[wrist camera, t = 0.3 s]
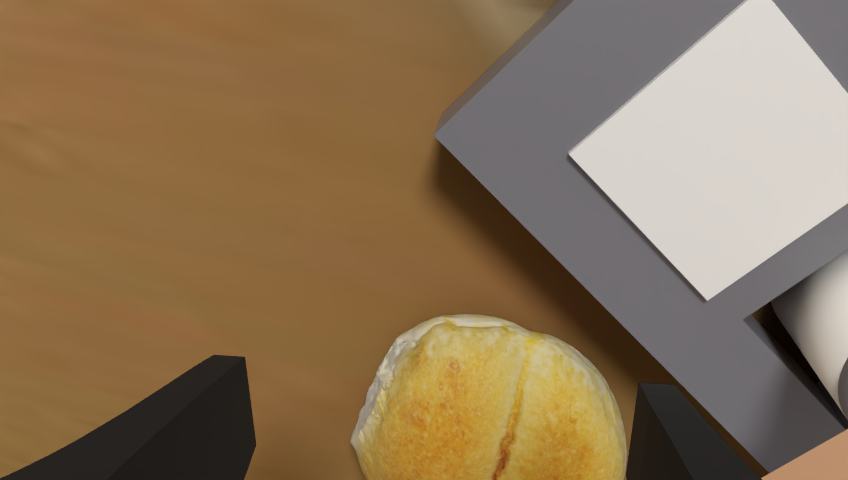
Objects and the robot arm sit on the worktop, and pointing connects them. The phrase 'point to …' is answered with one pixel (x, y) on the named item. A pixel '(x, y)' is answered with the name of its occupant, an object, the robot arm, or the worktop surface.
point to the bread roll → (488, 408)
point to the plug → (821, 324)
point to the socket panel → (681, 182)
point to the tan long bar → (818, 462)
